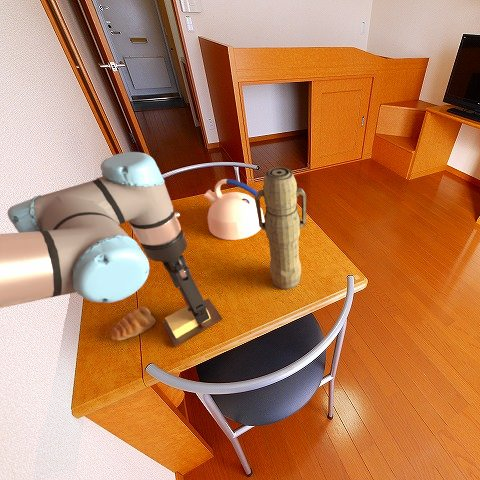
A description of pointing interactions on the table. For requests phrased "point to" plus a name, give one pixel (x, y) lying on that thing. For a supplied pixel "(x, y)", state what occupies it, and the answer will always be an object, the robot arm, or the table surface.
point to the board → (188, 335)
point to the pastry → (133, 324)
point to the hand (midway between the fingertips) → (191, 301)
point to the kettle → (232, 212)
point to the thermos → (282, 225)
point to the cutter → (187, 302)
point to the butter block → (181, 322)
